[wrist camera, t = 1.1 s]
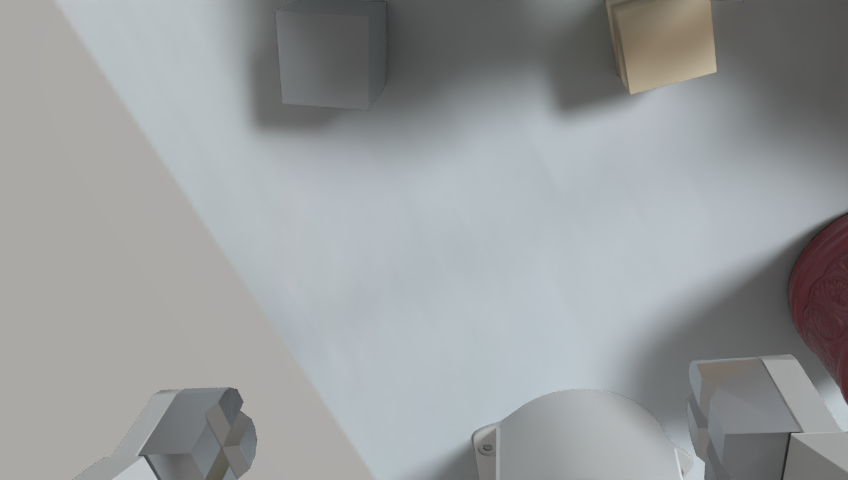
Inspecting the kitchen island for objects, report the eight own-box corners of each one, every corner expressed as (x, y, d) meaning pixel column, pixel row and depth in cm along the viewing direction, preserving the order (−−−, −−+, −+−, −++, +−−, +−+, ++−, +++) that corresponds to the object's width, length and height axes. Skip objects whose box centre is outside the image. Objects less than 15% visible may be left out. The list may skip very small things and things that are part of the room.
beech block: (694, 53, 35) (716, 72, 31) (617, 74, 36) (630, 94, 32) (685, -25, 33) (709, -15, 29) (605, 0, 34) (617, 12, 31)
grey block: (386, 84, 38) (368, 110, 34) (309, 78, 39) (282, 103, 34) (386, 1, 36) (368, 16, 31) (305, -5, 36) (274, 10, 31)
